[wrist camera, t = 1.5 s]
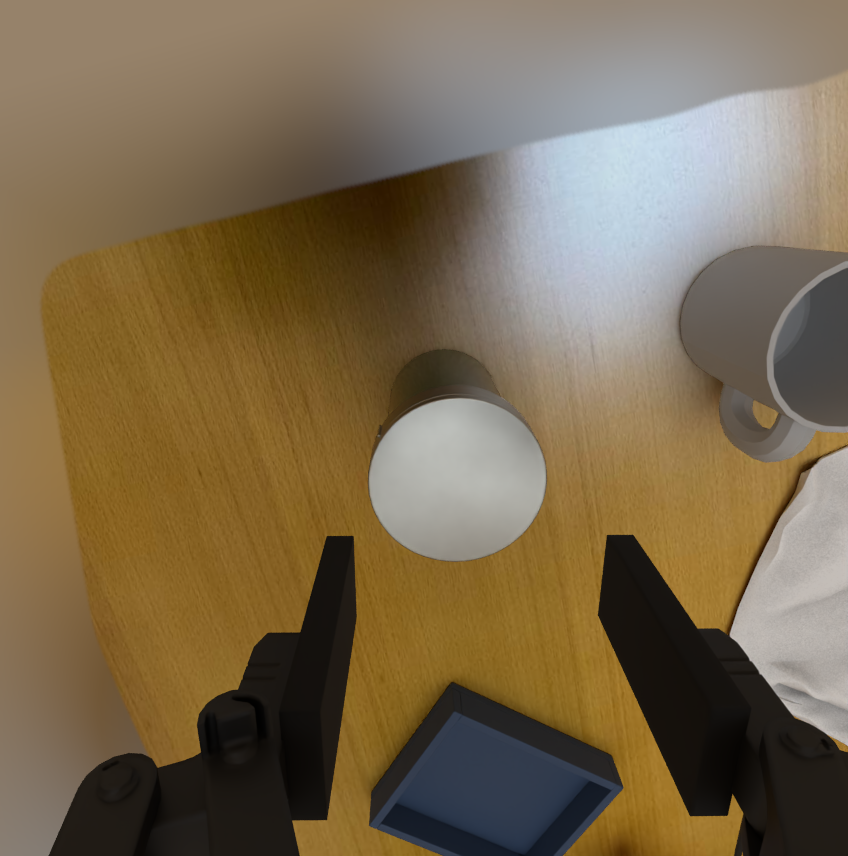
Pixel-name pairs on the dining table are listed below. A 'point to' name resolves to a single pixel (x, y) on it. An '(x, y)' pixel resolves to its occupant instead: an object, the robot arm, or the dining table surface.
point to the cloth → (804, 601)
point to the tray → (491, 783)
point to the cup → (773, 343)
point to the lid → (456, 473)
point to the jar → (439, 375)
